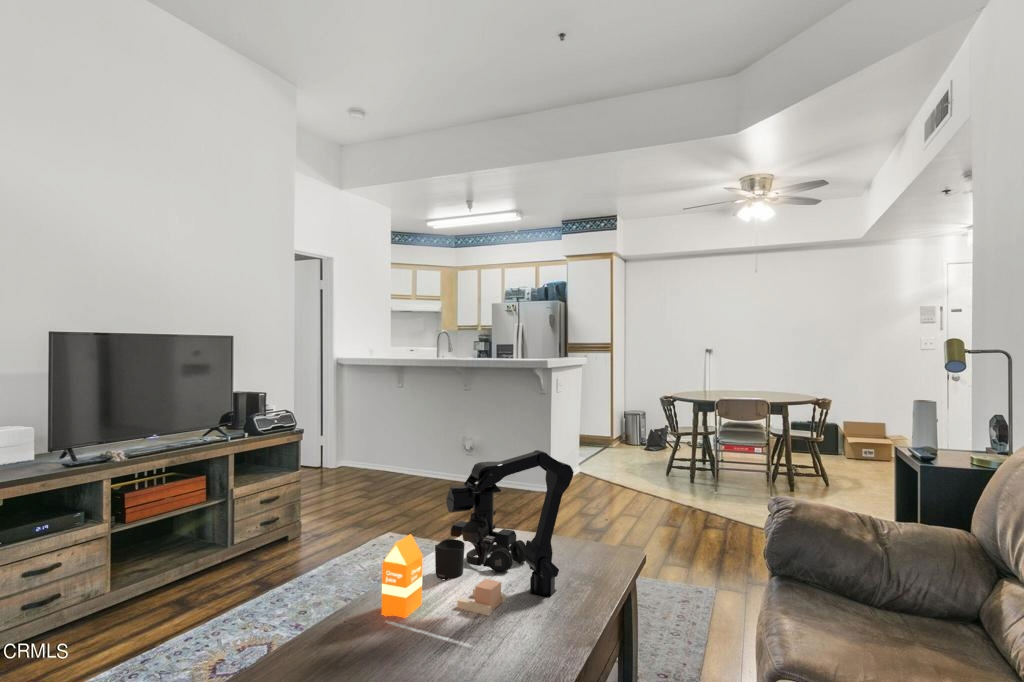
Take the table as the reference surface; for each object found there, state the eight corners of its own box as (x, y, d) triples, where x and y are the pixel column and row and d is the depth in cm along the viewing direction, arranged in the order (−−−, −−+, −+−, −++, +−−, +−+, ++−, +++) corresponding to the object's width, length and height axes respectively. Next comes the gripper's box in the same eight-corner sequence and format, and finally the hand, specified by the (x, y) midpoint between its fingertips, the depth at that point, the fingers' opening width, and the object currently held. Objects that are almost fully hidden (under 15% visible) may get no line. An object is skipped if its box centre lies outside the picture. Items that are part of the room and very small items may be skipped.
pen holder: (431, 572, 184) (431, 541, 184) (458, 568, 187) (459, 537, 188) (439, 583, 175) (439, 550, 175) (467, 578, 179) (468, 547, 179)
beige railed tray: (507, 601, 163) (507, 593, 163) (486, 619, 152) (487, 609, 152) (454, 588, 171) (454, 580, 171) (431, 604, 160) (431, 595, 160)
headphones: (502, 552, 181) (456, 548, 193) (505, 576, 180) (458, 571, 192) (531, 538, 195) (486, 535, 206) (534, 560, 194) (488, 556, 206)
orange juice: (380, 615, 153) (382, 541, 154) (398, 601, 162) (399, 531, 162) (406, 620, 151) (407, 545, 151) (422, 606, 159) (423, 535, 159)
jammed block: (500, 603, 160) (501, 582, 161) (490, 611, 155) (491, 590, 155) (485, 599, 163) (485, 578, 163) (474, 607, 157) (475, 586, 157)
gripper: (440, 510, 157) (438, 567, 157) (499, 520, 149) (498, 580, 149) (461, 501, 167) (460, 554, 167) (517, 510, 159) (516, 566, 159)
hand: (482, 563), depth 160 cm, fingers closed
